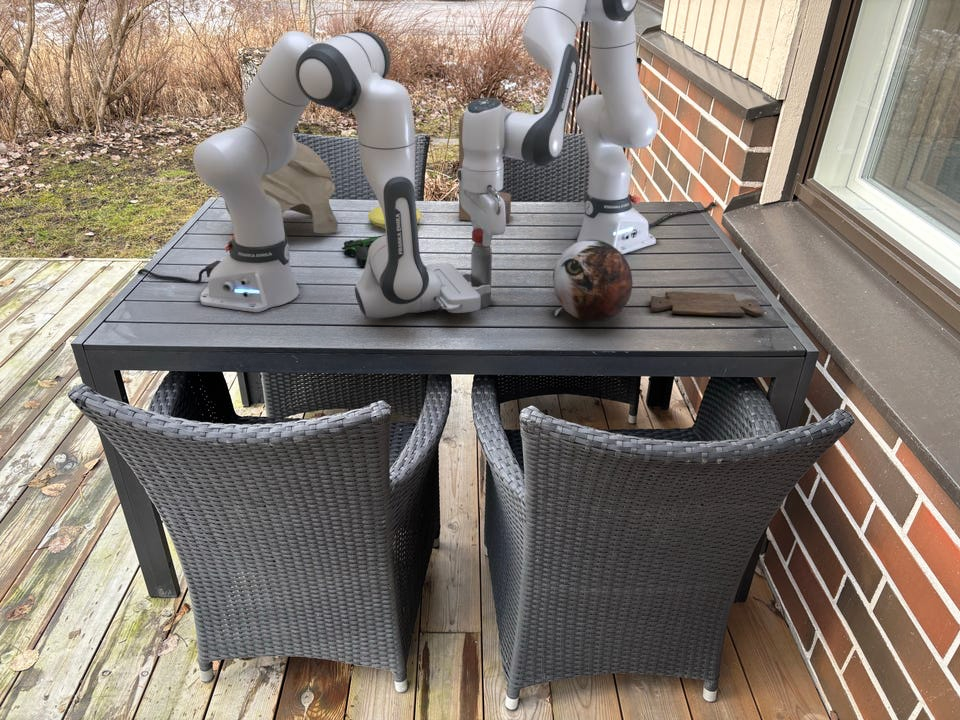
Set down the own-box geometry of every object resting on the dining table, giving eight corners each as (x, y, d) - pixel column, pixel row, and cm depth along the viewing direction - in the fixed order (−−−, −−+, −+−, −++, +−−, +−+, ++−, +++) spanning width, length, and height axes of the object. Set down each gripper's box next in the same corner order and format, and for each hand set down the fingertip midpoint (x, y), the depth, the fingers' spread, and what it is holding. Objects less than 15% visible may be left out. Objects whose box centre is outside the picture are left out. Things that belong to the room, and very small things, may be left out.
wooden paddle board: (645, 296, 172) (651, 316, 164) (646, 290, 171) (652, 309, 163) (754, 299, 171) (766, 319, 163) (755, 293, 170) (767, 312, 162)
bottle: (492, 300, 169) (494, 231, 161) (488, 308, 166) (490, 238, 157) (473, 298, 170) (474, 229, 161) (468, 306, 166) (469, 236, 158)
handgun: (354, 259, 182) (336, 238, 193) (354, 270, 184) (336, 248, 195) (413, 250, 189) (392, 230, 200) (413, 260, 190) (392, 240, 201)
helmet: (351, 239, 203) (345, 131, 188) (249, 258, 188) (233, 142, 173) (313, 212, 222) (305, 112, 207) (217, 227, 207) (201, 120, 192)
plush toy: (529, 271, 171) (588, 211, 162) (582, 317, 175) (643, 261, 167) (526, 311, 151) (593, 245, 143) (586, 361, 156) (655, 300, 148)
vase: (376, 214, 219) (375, 191, 216) (426, 217, 218) (426, 194, 214) (362, 232, 206) (360, 208, 202) (415, 235, 204) (415, 212, 201)
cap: (493, 237, 161) (493, 229, 160) (489, 244, 158) (489, 236, 157) (474, 235, 162) (474, 227, 161) (470, 242, 158) (470, 234, 157)
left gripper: (442, 297, 151) (502, 287, 156) (414, 261, 167) (469, 253, 172) (443, 323, 154) (501, 313, 159) (414, 286, 171) (469, 277, 175)
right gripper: (514, 192, 145) (511, 256, 152) (481, 165, 162) (480, 224, 169) (485, 195, 144) (484, 259, 151) (454, 168, 160) (454, 226, 167)
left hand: (484, 282), depth 166 cm, fingers closed on bottle, 5 cm apart
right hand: (481, 240), depth 160 cm, fingers closed on cap, 4 cm apart
